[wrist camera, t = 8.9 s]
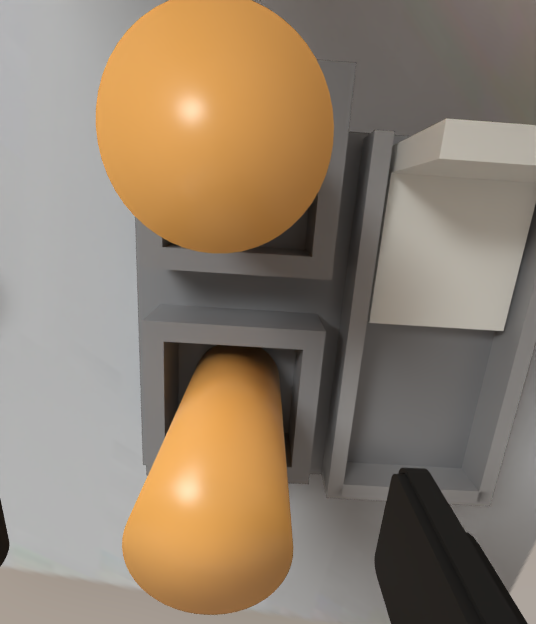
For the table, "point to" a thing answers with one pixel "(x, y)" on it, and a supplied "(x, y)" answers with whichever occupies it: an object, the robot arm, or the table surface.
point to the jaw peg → (217, 492)
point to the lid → (455, 225)
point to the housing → (291, 256)
